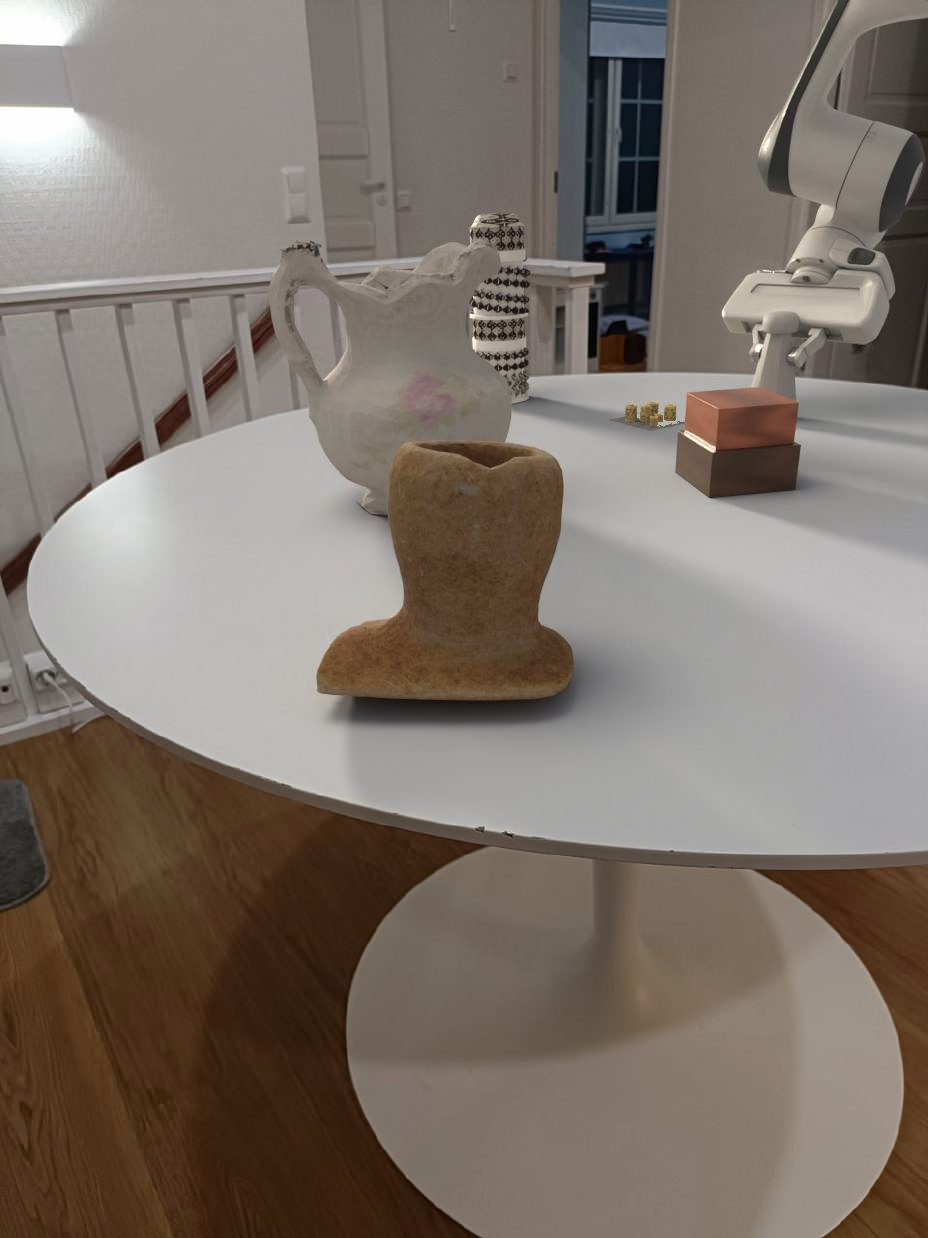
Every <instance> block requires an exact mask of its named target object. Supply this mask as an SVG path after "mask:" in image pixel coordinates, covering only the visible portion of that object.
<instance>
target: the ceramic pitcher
mask: <svg viewBox="0 0 928 1238" xmlns="http://www.w3.org/2000/svg"><path fill="white" fill-rule="evenodd" d="M322 246H323V245H322V244H321V243H318V242H314V241H312V240H309V242H306V241H305V242H302V241H299V240H296V241H295V243H294V244H292V242H287V247H286V248H285V249H284V248H283V249H282V248H281V249H280V251H281V256H280V259H279V263H278V265H277V267H276V268H275V270H274V272H273V273H272V275H271V277H270V283H269V288H268V301H269V309H270V317H271V322H272V326H273V330H274V335H275V338H276V340H277V342H278V343H279V345H280V347H281V349H282V351H283V353H284V355H285V358H286V359H287V361H288V363H289V365H290V367H291V369H292V371H293V372H294V374H296V375H297V376H298V378H300V380H301V382H302V384H303V385H304V388H305V391H306V399H307V407H308V418H309V419H310V421H311V422H312V424H313V426H314V427H315V430H316V435H317V439H318V443H319V444H320V446H321V448H322V451H323V453H324V454H325V456H326V458H327V460H328V461H329V462H330V463H331V464H332V465H333V467H334V468H335V469H336V470H337V471H338V473H339V474H340V475H341V476H342V477H343V478H345V480H347V481H349V482H351V483H354V484H355V485H358V486H361V487H365V488H367V489H366V491H365V493H364V495H363V496H362V497H360V499H358V500H357V502H358V504H359V505H360V506H361V507H362V508H363V509H364V510H365V511H366V512H367V513H368V514H371V515H381V516H388V512H387V484H388V477H389V472H390V468H391V465H392V461H393V458H394V456H395V454H396V452H397V450H398V448H399V447H400V446H402V445H403V444H405V443H408V442H412V441H427V442H428V441H435V440H442V441H455V440H466V441H494V442H505V443H506V442H507V438H508V434H509V431H510V427H511V420H512V414H513V413H512V412H513V411H512V410H513V403H512V397H511V391H510V389H509V386H508V384H507V381H506V379H505V378H504V377H503V376H502V375H501V374H500V373H499V372H498V371H497V370H496V369H494V368H493V367H492V366H491V365H490V364H489V363H488V362H487V361H486V360H484V359H483V358H481V357H480V356H479V355H478V354H477V353H476V352H475V351H474V350H473V346H472V345H471V343H470V341H469V338H468V334H467V330H466V318H467V313H468V309H469V306H470V304H469V302H470V300H471V298H472V296H473V294H474V292H475V290H476V289H477V288H478V286H479V285H480V284H481V283H482V282H483V281H485V280H487V279H488V278H490V277H491V276H493V275H496V274H498V273H499V271H500V269H501V261H500V255H499V253H498V252H497V245H496V244H492V243H489V242H487V241H483V240H482V238H479V239H478V240H476V241H475V242H473V243H471V244H470V243H469V245H468V246H467V245H465V244H463V243H459V242H456V241H455V242H454V241H449V242H446V243H445V244H442V245H440V246H437V247H434V248H432V249H431V250H430V251H429V252H427V254H425V256H424V257H423V258H422V260H421V261H420V263H419V264H418V265H417V266H416V267H415V268H414V269H413V270H412V269H411V270H410V269H397V268H395V267H392V266H388V265H383V264H382V265H380V266H378V267H376V268H374V269H372V271H371V272H370V273H368V275H367V276H366V277H365V278H364V279H363V281H362V282H361V283H352V282H351V283H349V282H344V281H342V280H341V281H340V280H339V279H338V278H337V277H336V276H334V274H333V273H332V272H331V271H330V270H329V268H328V267H327V264H326V263H325V261H324V259H323V258H322V257H321V253H320V248H322ZM499 247H500V246H499ZM301 286H302V287H303V286H307V287H308V286H309V287H314V288H315V289H317V290H319V291H320V292H322V293H323V294H324V296H326V297H327V298H328V299H330V300H333V301H334V302H335V303H336V304H337V305H338V307H339V311H340V314H341V317H342V320H343V325H344V330H345V334H346V339H345V351H344V353H343V354H342V356H341V357H340V359H339V361H338V363H337V365H336V366H335V367H334V368H333V369H332V370H331V371H330V372H329V373H328V374H327V375H326V377H325V378H322V377H321V375H320V373H319V371H318V369H317V367H316V365H315V363H314V360H313V359H314V358H313V357H312V354H311V352H310V350H309V348H308V345H307V344H306V343H305V341H304V339H303V337H302V335H301V334H300V332H299V330H298V328H297V325H296V319H295V295H296V291H297V290H298V289H299V288H300V287H301Z"/></svg>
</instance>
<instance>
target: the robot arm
mask: <svg viewBox="0 0 928 1238" xmlns="http://www.w3.org/2000/svg"><path fill="white" fill-rule="evenodd" d="M921 19H928V0H833V2H832V3H831V6H830V8H829V10H828V12H827V14H826V16H825V18H824V20H823V22H822V24H821V25H820V28H819V30H818V32H817V34H816V36H815V38H814V41H813V42H812V44H811V46H810V49H809V50H808V53H807V54H806V57H805V60H804V62H802V63H803V64H802V66H801V67H800V70H799V71H798V74H797V76H796V79H795V80H794V83H793V85H792V87H791V89H790V91H789V93H788V95H787V97H786V99H785V101H784V103H783V105H782V107H781V108H780V111H779V112H778V114H777V115H776V117H775V118H774V120H773V121H772V122H771V124H770V126H769V128H768V130H767V131H766V133H765V135H764V137H763V140H762V143H761V144H760V148H759V151H758V156H757V157H758V158H757V162H756V165H757V169H758V171H759V175H760V177H761V179H762V181H763V183H764V185H765V186H766V188H767V189H768V191H769V192H771V193H776V194H780V195H784V196H789V197H793V198H802V199H803V200H807V201H811V202H813V203H817V204H820V206H819V208H818V210H817V212H816V215H815V220H814V223H813V224H812V226H810V227H809V229H807V230H806V232H805V233H804V234H803V236H802V238H801V239H800V242H799V243H798V245H797V247H796V248H795V250H794V252H793V254H792V256H791V258H790V259H789V261H788V263H787V265H786V267H785V268H773V269H772V268H765V267H764V268H759V269H758V270H757V271H754V272H751V273H749V274H747V275H745V277H744V279H743V280H742V281H741V283H740V284H739V285H738V286H737V288H736V289H735V290H734V291H733V293H732V294H731V295H730V297H729V298H728V300H727V302H726V303H725V305H724V306H723V308H722V310H721V318H722V321H723V322H724V324H725V326H726V328H727V330H728V331H729V333H730V334H731V333H732V334H738V335H739V334H741V335H749V336H750V335H752V343H753V344H752V345H751V348H750V350H749V352H748V358H749V359H750V362H754V363H758V362H759V358H760V355H761V351H762V348H763V344H764V341H765V338H766V334H767V333H766V332H764V331H763V329H762V322H763V318H764V316H765V315H766V314H768V313H771V312H777V311H789V312H794V313H796V314H797V315H798V316H799V321H800V323H799V329H798V331H796V332H794V333H792V339H795V340H805V341H804V342H803V343H802V344H800V345H799V346H793V347H792V349H791V351H790V354H788V356H787V361H788V363H789V365H790V366H794V368H795V367H796V368H802V367H803V366H804V364H805V362H806V361H807V359H808V357H810V356H812V355H813V354H815V353H816V352H818V351H819V350H820V349H822V348H823V347H824V345H825V343H826V342H831V343H832V342H833V343H842V344H843V343H844V344H854V345H867V344H869V343H870V342H871V343H872V342H873V341H874V340H876V339H877V337H878V336H879V334H880V333H881V330H882V328H883V326H884V324H885V322H886V320H887V318H888V314H889V311H890V300H891V299H892V298H893V297H894V295H895V293H896V284H895V280H894V275H893V271H892V268H891V266H890V263H889V261H888V258H887V257H886V255H885V253H882V252H881V251H878V250H876V249H874V248H875V247H876V246H877V245H878V244H879V243H880V242H881V241H882V239H883V238H884V236H885V234H886V233H887V230H889V229H891V227H894V226H895V225H896V224H897V223H899V222H900V221H901V218H902V217H903V214H904V212H905V210H906V209H907V207H908V205H909V204H910V202H911V200H912V198H913V196H914V194H915V193H916V191H917V189H918V187H919V185H920V183H921V181H922V178H923V175H924V172H925V169H926V164H927V161H926V160H927V159H926V155H925V152H924V148H923V145H922V142H921V140H920V138H919V136H918V134H917V133H913V132H911V131H909V130H908V129H905V128H902V127H897V126H894V125H891V124H889V123H885V122H882V121H878V120H876V121H875V120H871V119H868V118H864V117H861V116H857V115H854V114H850V113H846V112H844V111H841V110H838V109H835V108H834V107H832V106H831V104H830V103H829V101H828V96H829V94H830V92H831V90H832V89H833V86H834V85H835V82H836V81H837V78H838V77H839V74H840V73H841V71H842V68H843V67H844V65H845V63H846V61H847V59H848V58H849V55H850V53H851V52H852V49H853V48H854V46H855V44H856V42H857V40H858V39H859V38H860V37H861V36H862V35H864V34H866V33H867V32H868V31H871V30H873V29H876V28H879V27H883V26H886V25H890V24H896V23H901V22H907V21H914V20H921Z"/></svg>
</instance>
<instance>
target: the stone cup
mask: <svg viewBox="0 0 928 1238" xmlns="http://www.w3.org/2000/svg"><path fill="white" fill-rule="evenodd" d="M564 483H565V482H564V476H563V469H562V467H561V465H560V463H559V460H557V458H556V457H555V456H554V455H552V454H550V452H548V451H546V450H544V449H541V448H537V447H535V446H530V445H525V444H520V443H514V442H506V441H505V442H494V441H466V440H455V441H442V440H435V441H428V442H427V441H412V442H408V443H405V444H403V445H402V446H400V447H399V448H398V450H397V452H396V454H395V456H394V458H393V461H392V465H391V468H390V472H389V477H388V484H387V512H388V515H387V520H388V525H389V526H388V527H389V530H390V535H391V540H392V545H393V551H394V554H395V558H396V561H397V565H398V568H399V574H400V577H401V581H402V589H403V590H402V591H403V602H402V606H401V608H400V609H399V610H398V612H397V613H396V614H395V615H393V616H392V617H390V618H383V619H374V620H366V621H363V622H361V624H359V625H354V626H350V627H349V628H347V629H346V630H344V631H342V632H340V633H339V635H337V636H336V637H335V638H334V639H333V641H332V642H331V643H330V645H329V647H328V648H327V650H326V651H325V653H323V656H322V659H321V661H320V663H319V666H318V668H317V670H316V676H315V678H316V692H318V693H319V694H321V695H330V696H344V697H345V696H346V697H361V698H378V699H379V698H380V699H395V700H396V699H401V700H427V701H428V700H430V701H431V700H432V701H515V700H516V701H517V700H535V699H542V698H543V699H544V698H548V697H553V696H555V695H557V694H560V693H561V692H562V691H564V690H565V689H566V688H567V686H568V685H569V683H570V681H571V679H572V677H573V675H574V671H575V657H574V653H573V649H572V646H571V644H570V643H569V642H568V641H567V639H565V637H564V636H563V635H562V634H560V633H559V632H558V631H556V630H554V629H552V628H550V627H547V626H545V625H542V624H541V622H540V619H539V608H540V601H541V594H542V591H543V588H544V585H545V582H546V579H547V576H548V574H549V572H550V569H551V566H552V563H553V560H554V557H555V554H556V552H557V549H558V548H557V547H558V544H559V540H560V536H561V531H562V519H563V518H562V516H563V515H562V514H563V504H564V491H565V490H564V488H565V487H564V486H565V485H564Z"/></svg>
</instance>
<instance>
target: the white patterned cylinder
mask: <svg viewBox="0 0 928 1238" xmlns="http://www.w3.org/2000/svg"><path fill="white" fill-rule="evenodd" d="M525 226H526V224H524V223H523V221H522V220H521V217H520V216H519V215H518V214H517V213H515V212H502V213H501V212H499V213H482V214H478V215H476V217H475V218H474V220H473V222H472V225H470V226H469V227H467V228H468V229H469V241H470V243H469V245H470V244H471V243H473V242H475V241H476V240H478V239H479V238H482V240H483V241H487V242H489V243H492V244H496V245H497V252H498V253H499V255H500V261H501V269H500V271H499V273H498V274H496V275H493V276H491V277H490V278H488V279H487V280H485V281H483V282H482V283H481V284H480V285H479V286H478V288H477V289H476V290H475V292H474V294H473V296H472V298H471V300H470V302H469V306H471V307H472V310H470V311H469V312H468V314H469V319H472V332H473V337H472V338H471V339H472V348H473V350H474V351H475V352H476V353H477V354H478V355H479V356H480V357H481V358H483V359H484V360H486V361H487V362H488V363H489V364H490V365H491V366H492V367H493V368H494V369H496V370H497V371H498V372H499V373H500V374H501V375H502V376H503V377H504V378H505V379H506V381H507V384H508V386H509V389H510V391H511V397H512V404H518V403H522V402H526V401H527V400H529V397H530V396H529V393H528V392H527V391H529V389H530V384H529V383H528V380H529V379H530V373H529V371H528V370H526V367H528V366H529V365H530V363H529V359H527V358H525V357H527V356H528V355H529V353H530V351H529V349H528V348H527V335H526V321H525V320H526V319H525V318H526V317H528V316H529V313H530V309H528V308H527V307H526V304H528V303H529V302H530V298H529V296H527V295H526V294H525V293H524V292H525V291H526V290H527V289H528V288H530V286H531V282H529V281H528V280H527V279H526V278H528V277H529V276H530V275H531V271H530V270H529V269H528V268H526V267H524V263H525V262H527V260H528V257H527V256H526V248H525ZM499 246H500V247H499ZM524 279H525V280H524Z"/></svg>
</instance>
